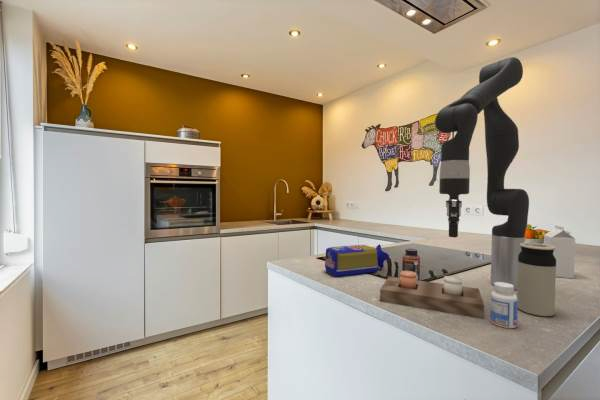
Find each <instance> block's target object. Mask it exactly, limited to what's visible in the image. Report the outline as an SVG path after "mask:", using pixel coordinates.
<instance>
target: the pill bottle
mask: <svg viewBox="0 0 600 400" xmlns="http://www.w3.org/2000/svg"><path fill="white" fill-rule="evenodd" d="M493 289H494V290H492V291H491V292H490V322H491V323H492V324H494V325H496V326H498V327H501V328H505V329H515V328H516V327H517V326H518V308H517V304H518V300H517V294H515V293H514V292H515V290H514V286H513V285H512V284H509V283H504V282H495V283H494V285H493Z"/></svg>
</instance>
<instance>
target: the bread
mask: <svg viewBox="0 0 600 400" xmlns="http://www.w3.org/2000/svg"><path fill="white" fill-rule="evenodd" d="M389 257H390V255H389V254H388V253H387V252H385V251H384V250H382V245H381V244H380V243H379V244H378V245H376V247H373V246H369V245H367V244H353V245H352V244H351V245H341V246H331V247H328V248H326V249H325V260H324V266H325V267H324V269H325V272H326V273H328V274H330V275H332V276H333V277H335V278H338V277H340V278H341V277H347V276H355V275H357V276H358V275H364V274H372V273H377V271H378V269H380V270H382V269H383V268H384V263H385V261H386V260H387V259H389Z"/></svg>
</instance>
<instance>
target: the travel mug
mask: <svg viewBox="0 0 600 400" xmlns="http://www.w3.org/2000/svg"><path fill="white" fill-rule="evenodd" d="M520 246H521V250H522V251H521V252H520V253H519V255H518V279H517V290H516V296H517V300H518V304H517V309H518V310H519V311H521V312H524V313H526V314H528V315H533V316H538V317H552V316H554V315H555V306H556V305H555V304H556V278H557V277H556V258H555V257H554V255H553V252H554V249H555V247H554V246H551V245H546V244H544V243H536V242H525V243H520Z"/></svg>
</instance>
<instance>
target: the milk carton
mask: <svg viewBox="0 0 600 400" xmlns="http://www.w3.org/2000/svg"><path fill="white" fill-rule="evenodd" d="M543 235H544V236H543V244H546V245H551V246H554V247H555V249H554V252H553V255H554V257H555V258H556V278H565V279H574V278H575V257H576V256H575V255H576V254H575V252H576V238H575V237H574V236H572V235H571V232H570V231H569V230H568V229H565V227H563V226H558V225H555V226H554V228H553V229H551V230H550V231H548V232H546V233H545V234H543Z"/></svg>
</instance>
